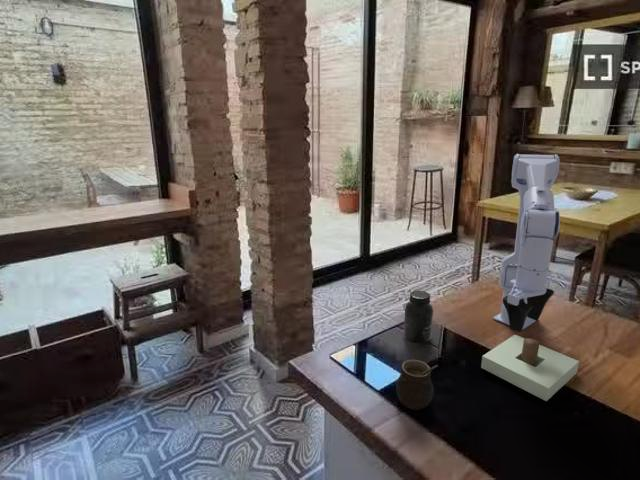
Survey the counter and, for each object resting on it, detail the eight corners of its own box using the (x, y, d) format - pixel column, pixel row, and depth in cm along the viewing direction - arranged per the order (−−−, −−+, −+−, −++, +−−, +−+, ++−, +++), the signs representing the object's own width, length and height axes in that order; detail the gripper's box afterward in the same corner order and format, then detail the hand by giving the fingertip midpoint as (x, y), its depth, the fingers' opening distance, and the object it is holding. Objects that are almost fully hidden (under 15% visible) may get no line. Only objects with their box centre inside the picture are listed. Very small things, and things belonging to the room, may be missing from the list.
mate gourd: (398, 386, 83) (401, 344, 80) (436, 395, 80) (440, 352, 77) (391, 408, 77) (393, 364, 74) (431, 419, 74) (435, 374, 71)
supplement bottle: (432, 346, 97) (435, 301, 93) (403, 343, 98) (405, 299, 95) (430, 331, 104) (433, 289, 100) (403, 329, 105) (405, 287, 101)
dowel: (523, 364, 90) (527, 336, 87) (537, 370, 87) (542, 342, 85) (516, 369, 88) (521, 341, 86) (530, 376, 85) (535, 347, 83)
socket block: (513, 345, 97) (514, 334, 96) (576, 373, 86) (579, 361, 85) (480, 367, 89) (482, 355, 88) (546, 401, 78) (548, 388, 77)
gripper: (530, 253, 90) (522, 307, 94) (496, 269, 82) (489, 328, 86) (564, 261, 85) (554, 318, 89) (531, 280, 76) (521, 341, 81)
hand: (524, 324), depth 87 cm, fingers open, 7 cm apart
